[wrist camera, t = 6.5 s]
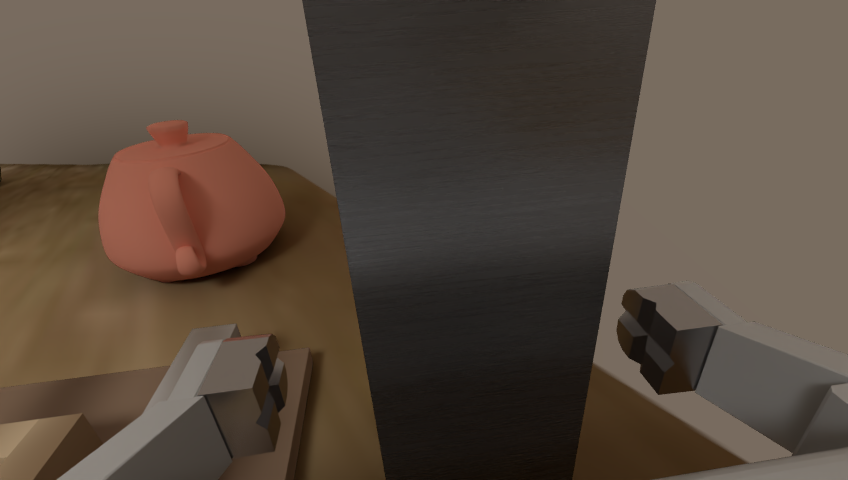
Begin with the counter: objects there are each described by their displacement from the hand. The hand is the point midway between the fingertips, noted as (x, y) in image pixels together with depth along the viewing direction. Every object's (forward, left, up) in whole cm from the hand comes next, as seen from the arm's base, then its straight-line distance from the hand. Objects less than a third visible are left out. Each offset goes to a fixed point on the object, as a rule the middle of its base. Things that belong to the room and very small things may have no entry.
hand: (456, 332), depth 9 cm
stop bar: (0, 0, -8) cm, 8 cm away
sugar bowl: (-15, +22, -9) cm, 28 cm away
